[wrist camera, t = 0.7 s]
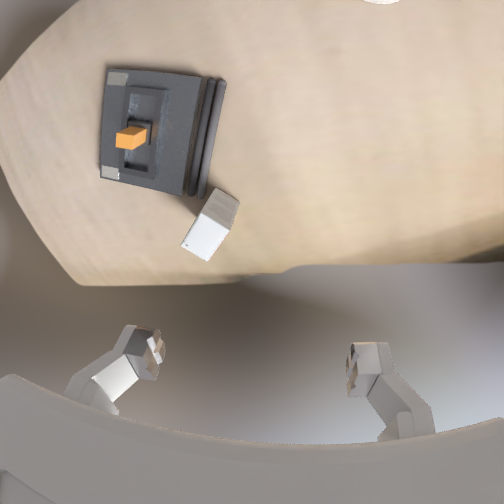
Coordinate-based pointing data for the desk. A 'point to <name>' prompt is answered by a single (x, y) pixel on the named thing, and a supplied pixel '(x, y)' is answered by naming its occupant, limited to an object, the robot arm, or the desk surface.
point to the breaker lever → (134, 135)
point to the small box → (211, 225)
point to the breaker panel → (163, 130)
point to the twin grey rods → (210, 136)
